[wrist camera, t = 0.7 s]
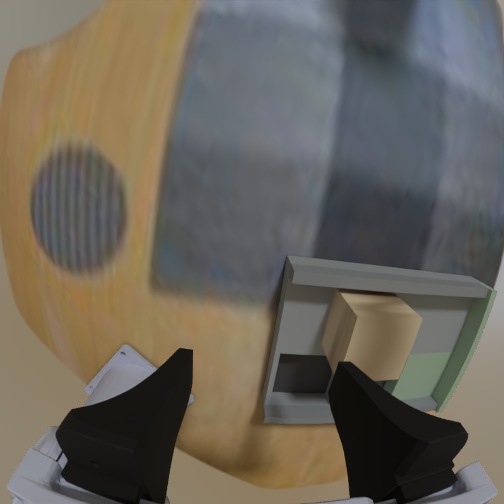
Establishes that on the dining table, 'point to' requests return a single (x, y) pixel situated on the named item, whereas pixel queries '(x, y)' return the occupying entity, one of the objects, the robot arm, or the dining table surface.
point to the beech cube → (370, 332)
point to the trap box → (421, 355)
